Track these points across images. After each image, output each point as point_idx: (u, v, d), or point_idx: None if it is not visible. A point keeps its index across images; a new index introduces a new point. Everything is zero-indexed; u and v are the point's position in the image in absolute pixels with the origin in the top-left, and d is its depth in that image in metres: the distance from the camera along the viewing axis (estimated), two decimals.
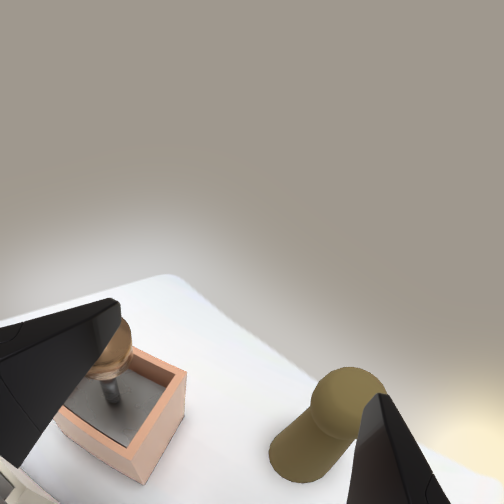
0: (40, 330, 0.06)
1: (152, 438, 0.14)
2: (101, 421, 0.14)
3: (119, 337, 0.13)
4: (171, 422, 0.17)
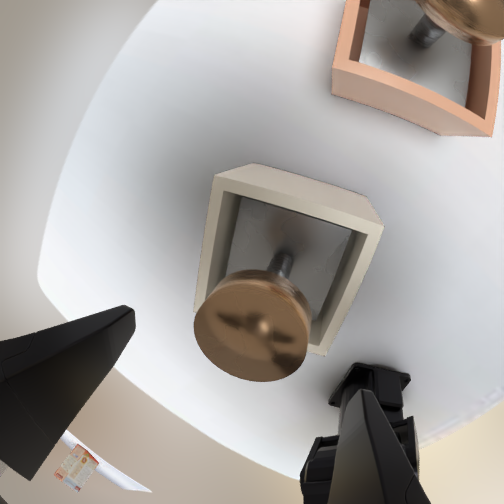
0: (54, 341, 0.06)
1: None
2: (426, 75, 0.09)
3: None
4: None
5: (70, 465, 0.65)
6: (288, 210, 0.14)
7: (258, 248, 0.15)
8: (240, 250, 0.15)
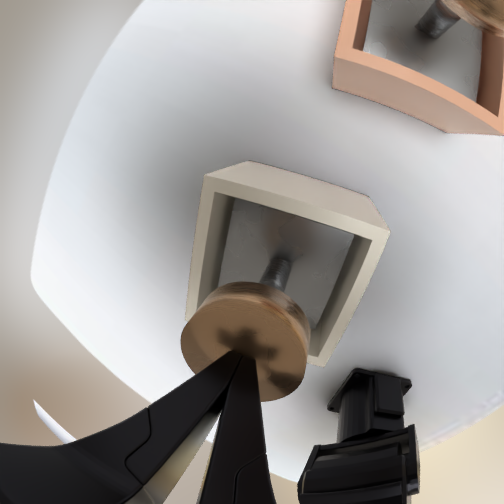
0: (179, 415, 0.05)
1: None
2: (435, 68, 0.08)
3: None
4: None
5: None
6: (285, 212, 0.13)
7: (253, 253, 0.14)
8: (234, 254, 0.14)
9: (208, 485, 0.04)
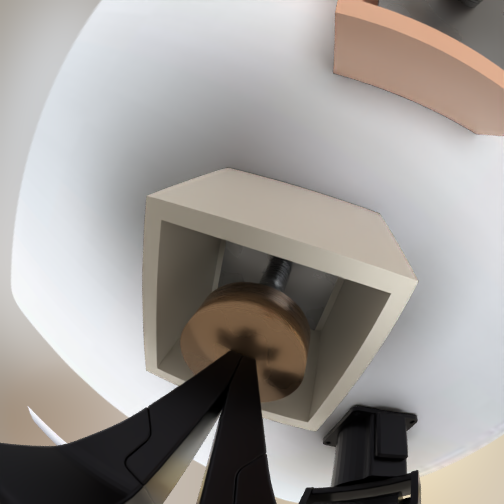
0: (179, 415, 0.05)
1: None
2: (475, 45, 0.04)
3: None
4: None
5: None
6: None
7: (253, 253, 0.14)
8: (234, 255, 0.14)
9: (208, 485, 0.04)
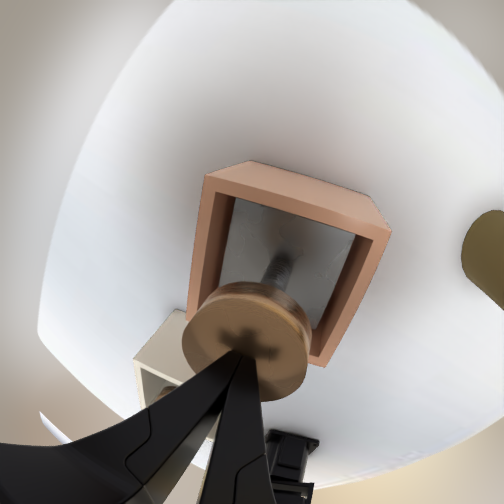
0: (179, 415, 0.05)
1: None
2: None
3: (285, 364, 0.08)
4: None
5: None
6: None
7: None
8: None
9: (208, 485, 0.04)
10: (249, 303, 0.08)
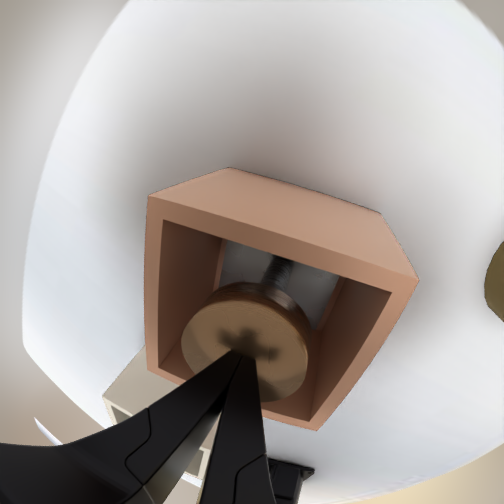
0: (179, 415, 0.05)
1: None
2: None
3: (284, 364, 0.08)
4: None
5: None
6: None
7: None
8: None
9: (208, 485, 0.04)
10: (249, 303, 0.08)
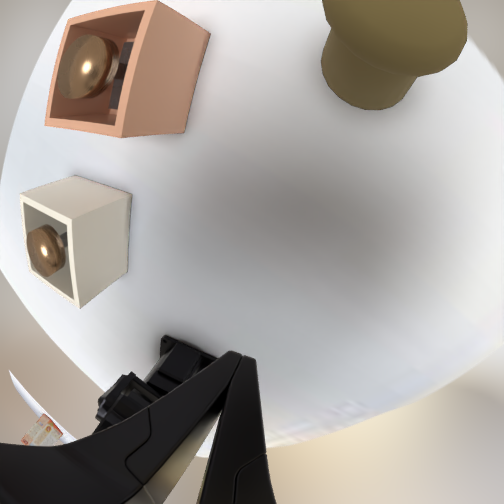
0: (179, 415, 0.05)
1: (146, 92, 0.13)
2: None
3: (92, 55, 0.10)
4: (179, 54, 0.13)
5: (35, 432, 0.71)
6: None
7: None
8: None
9: (208, 485, 0.04)
10: None
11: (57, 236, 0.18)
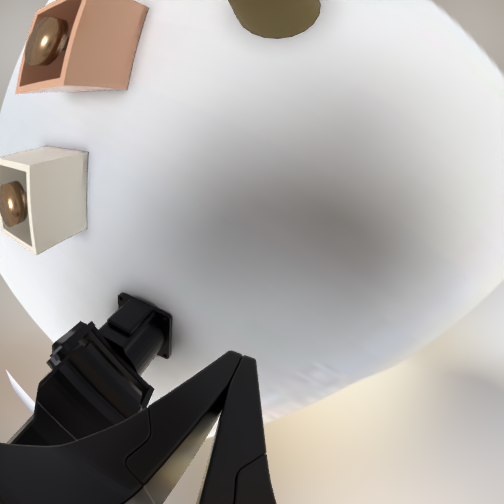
0: (179, 415, 0.05)
1: (86, 51, 0.12)
2: None
3: (47, 30, 0.10)
4: (117, 23, 0.13)
5: None
6: None
7: None
8: None
9: (208, 485, 0.04)
10: None
11: (21, 188, 0.17)
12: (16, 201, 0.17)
